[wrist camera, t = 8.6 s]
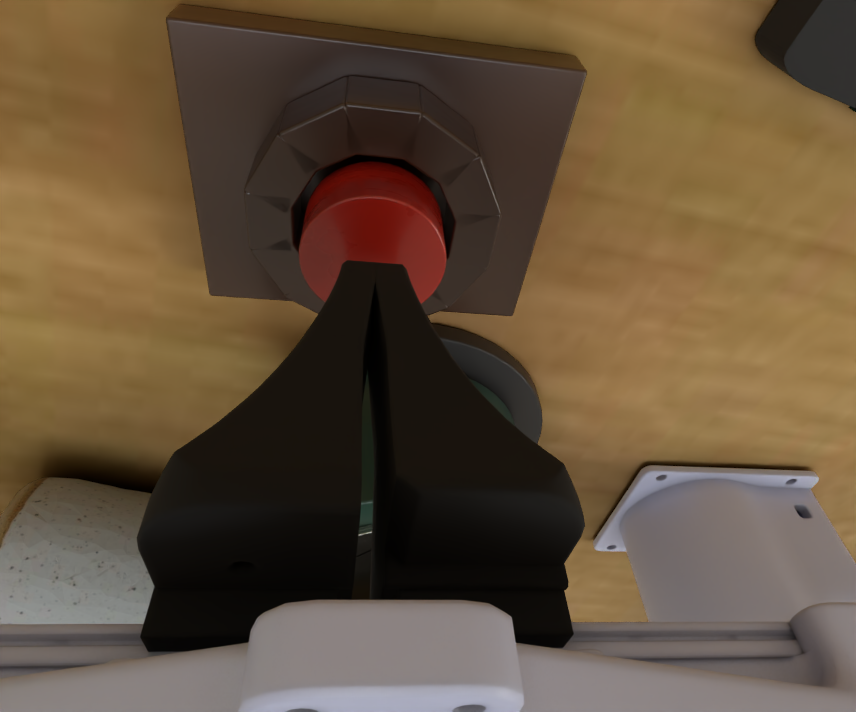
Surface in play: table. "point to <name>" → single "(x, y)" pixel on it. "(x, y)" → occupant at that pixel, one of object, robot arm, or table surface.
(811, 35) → the smart home device
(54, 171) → the table surface
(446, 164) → the switch block
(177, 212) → the table surface
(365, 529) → the kettle
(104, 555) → the ceramic mug
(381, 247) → the switch button
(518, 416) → the kettle base
